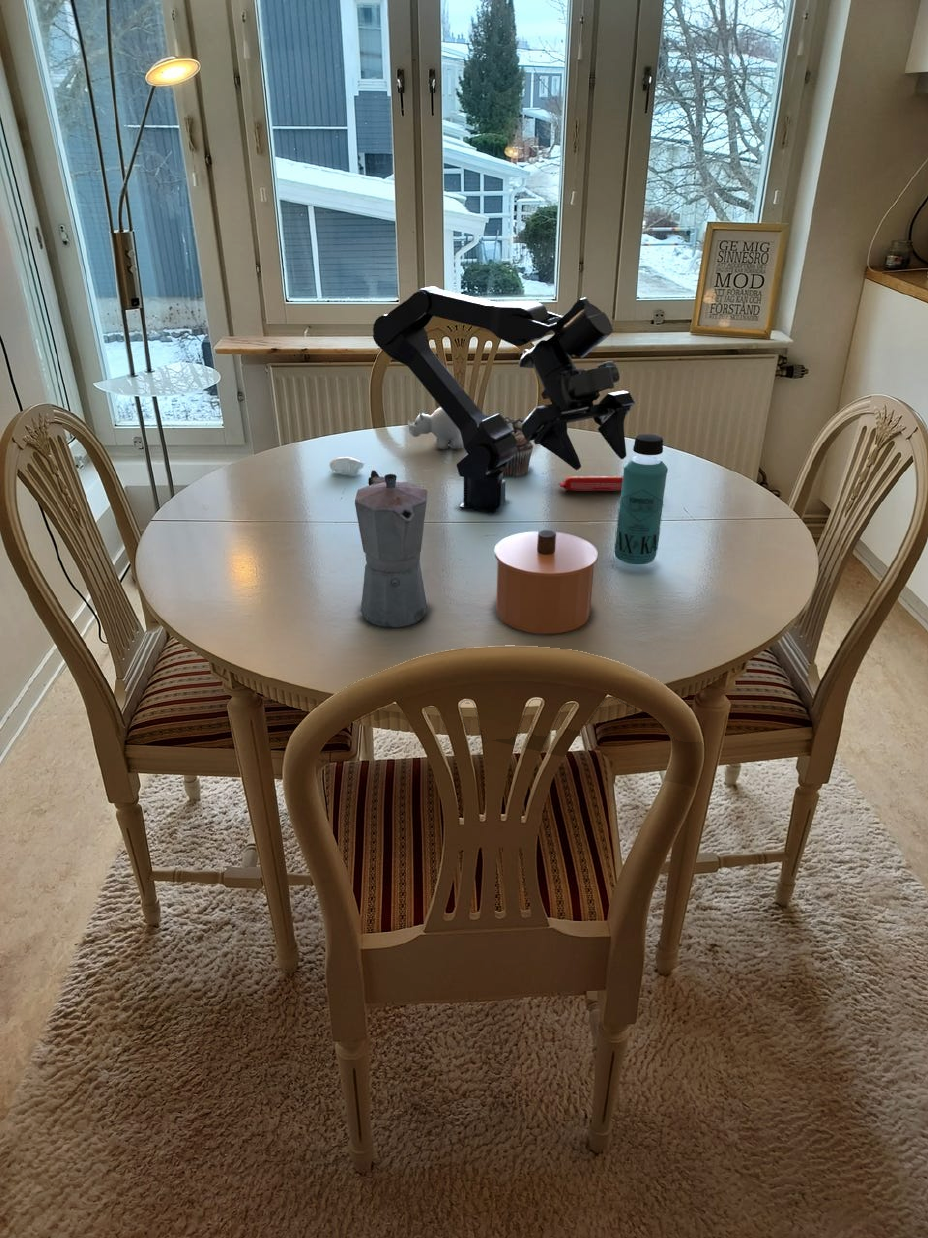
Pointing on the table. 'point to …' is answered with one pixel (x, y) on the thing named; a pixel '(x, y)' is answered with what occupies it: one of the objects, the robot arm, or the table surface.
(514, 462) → the cupcake
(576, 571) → the pot lid
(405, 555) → the moka pot
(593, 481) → the candy bar
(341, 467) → the dumpling
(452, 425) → the toy rhinoceros
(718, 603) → the table surface
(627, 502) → the beverage bottle
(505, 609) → the pot
